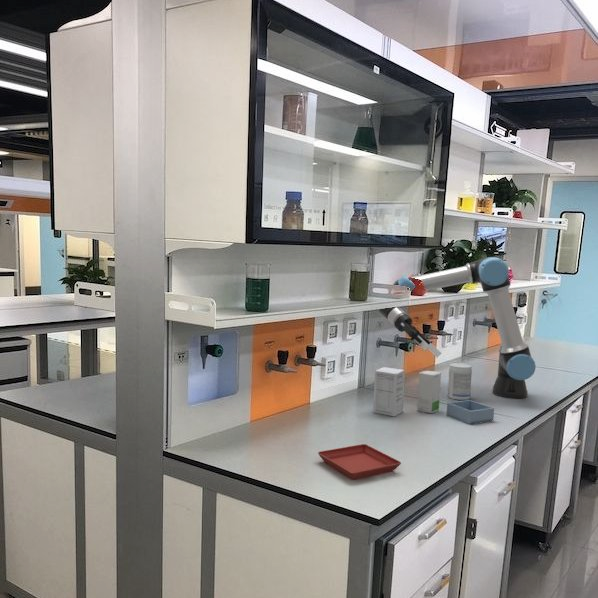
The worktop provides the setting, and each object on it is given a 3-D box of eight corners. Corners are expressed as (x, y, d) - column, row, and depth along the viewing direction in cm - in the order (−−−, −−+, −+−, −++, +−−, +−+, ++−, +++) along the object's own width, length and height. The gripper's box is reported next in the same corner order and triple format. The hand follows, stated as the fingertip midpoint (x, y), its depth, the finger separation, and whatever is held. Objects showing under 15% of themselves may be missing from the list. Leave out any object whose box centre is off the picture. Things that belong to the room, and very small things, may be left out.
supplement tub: (474, 399, 255) (477, 366, 253) (459, 401, 249) (462, 368, 248) (457, 394, 263) (459, 362, 261) (442, 396, 257) (445, 363, 256)
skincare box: (430, 414, 229) (433, 375, 227) (415, 410, 233) (417, 372, 231) (439, 409, 235) (442, 372, 234) (424, 406, 239) (426, 369, 238)
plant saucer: (316, 461, 174) (316, 451, 174) (364, 453, 183) (364, 442, 183) (351, 484, 159) (352, 473, 158) (402, 473, 168) (402, 462, 168)
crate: (469, 412, 234) (470, 399, 234) (493, 420, 223) (494, 408, 223) (446, 415, 228) (447, 402, 227) (470, 424, 217) (471, 411, 217)
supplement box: (403, 411, 231) (406, 369, 229) (395, 417, 223) (397, 373, 221) (381, 407, 235) (383, 366, 234) (372, 412, 227) (374, 370, 226)
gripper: (406, 333, 263) (437, 364, 251) (382, 318, 244) (415, 351, 231) (417, 320, 262) (449, 351, 250) (394, 305, 243) (428, 338, 230)
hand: (433, 351), depth 240 cm, fingers open, 13 cm apart
